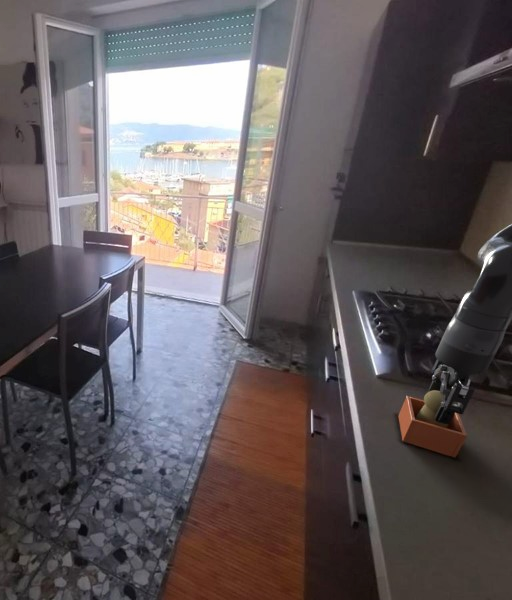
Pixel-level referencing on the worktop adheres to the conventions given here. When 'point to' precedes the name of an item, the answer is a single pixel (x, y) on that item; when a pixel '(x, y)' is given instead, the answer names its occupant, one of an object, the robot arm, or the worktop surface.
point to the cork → (431, 408)
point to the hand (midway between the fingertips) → (436, 408)
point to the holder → (430, 430)
